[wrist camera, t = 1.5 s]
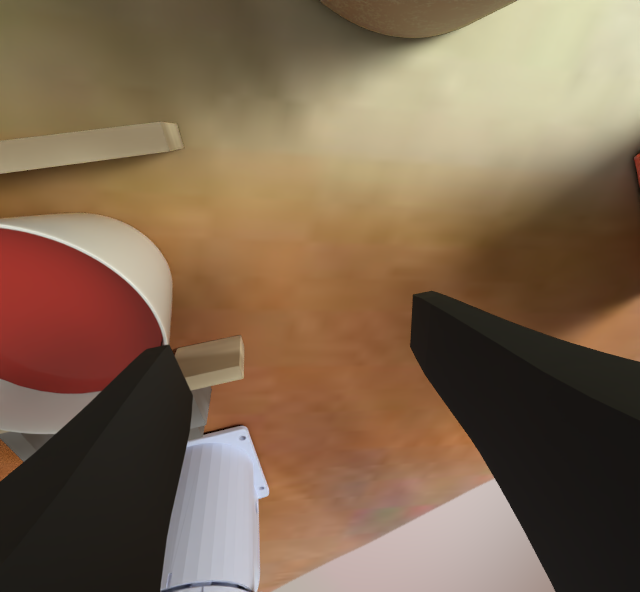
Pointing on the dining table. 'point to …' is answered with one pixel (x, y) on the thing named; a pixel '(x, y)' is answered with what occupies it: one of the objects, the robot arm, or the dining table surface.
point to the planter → (414, 15)
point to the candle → (73, 312)
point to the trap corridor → (110, 143)
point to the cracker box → (637, 166)
